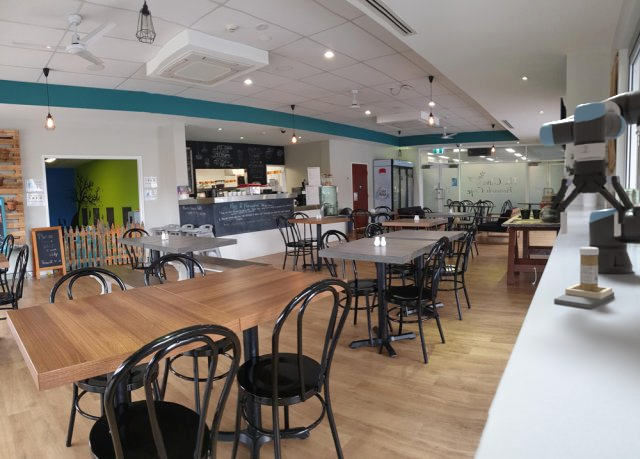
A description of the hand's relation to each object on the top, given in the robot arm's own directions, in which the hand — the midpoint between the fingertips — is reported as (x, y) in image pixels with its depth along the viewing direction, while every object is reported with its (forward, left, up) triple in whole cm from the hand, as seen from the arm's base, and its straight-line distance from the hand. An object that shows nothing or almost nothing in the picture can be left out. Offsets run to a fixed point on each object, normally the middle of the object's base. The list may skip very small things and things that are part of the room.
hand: (589, 234), depth 120 cm
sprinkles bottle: (0, 0, -17) cm, 17 cm away
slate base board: (+3, 0, -18) cm, 19 cm away
